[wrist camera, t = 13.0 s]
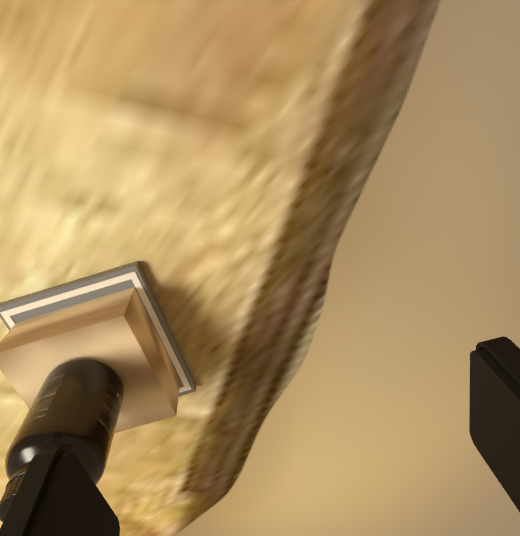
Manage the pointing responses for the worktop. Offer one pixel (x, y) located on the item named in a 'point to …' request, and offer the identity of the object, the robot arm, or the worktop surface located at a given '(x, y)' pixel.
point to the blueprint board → (98, 288)
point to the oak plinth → (97, 354)
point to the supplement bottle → (68, 421)
